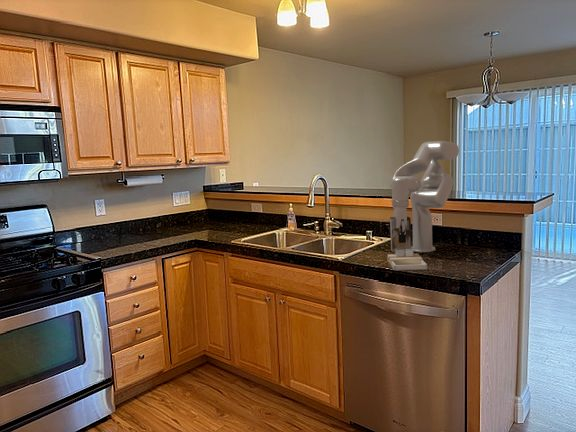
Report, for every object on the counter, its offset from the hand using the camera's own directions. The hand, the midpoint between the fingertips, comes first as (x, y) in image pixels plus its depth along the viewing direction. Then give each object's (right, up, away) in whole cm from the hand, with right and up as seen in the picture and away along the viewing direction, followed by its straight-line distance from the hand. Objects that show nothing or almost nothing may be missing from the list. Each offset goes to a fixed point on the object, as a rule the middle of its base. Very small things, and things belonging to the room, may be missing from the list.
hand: (400, 240), depth 211 cm
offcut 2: (+2, -7, -7) cm, 9 cm away
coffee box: (0, -5, +1) cm, 5 cm away
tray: (-1, -11, -16) cm, 19 cm away
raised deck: (0, -10, -7) cm, 12 cm away
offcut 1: (-2, -7, -6) cm, 9 cm away
